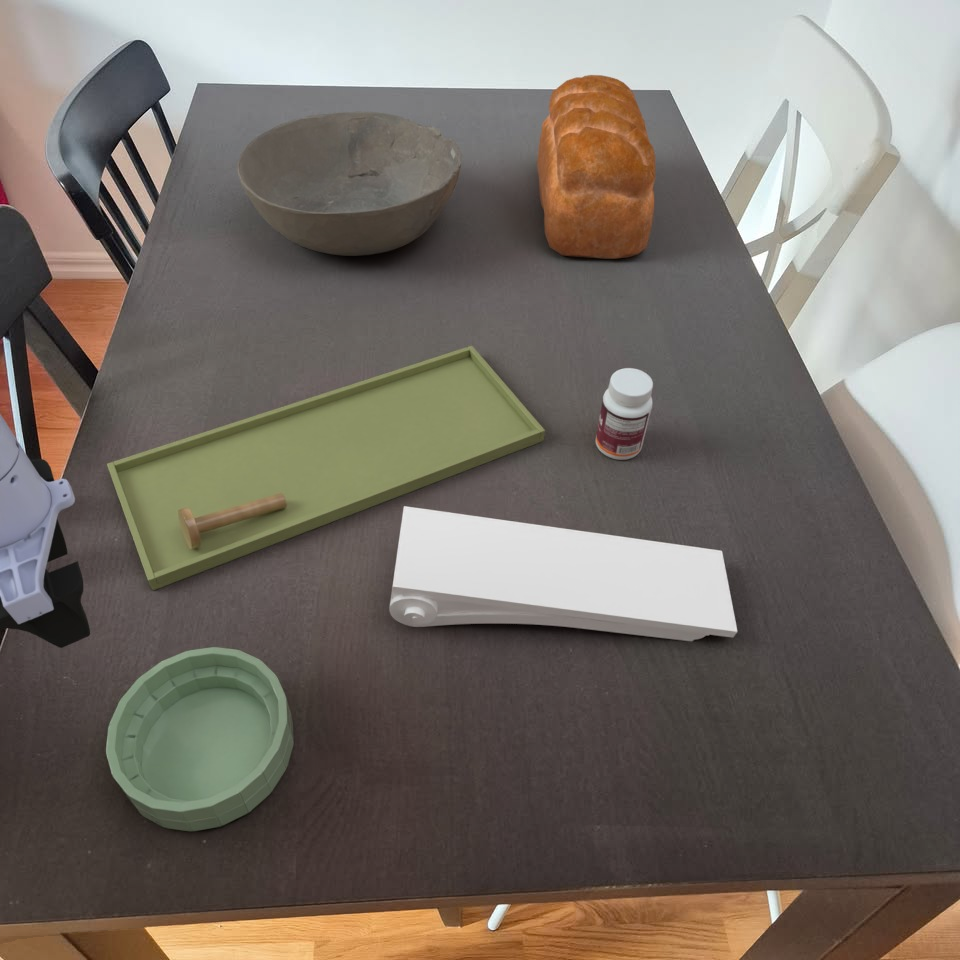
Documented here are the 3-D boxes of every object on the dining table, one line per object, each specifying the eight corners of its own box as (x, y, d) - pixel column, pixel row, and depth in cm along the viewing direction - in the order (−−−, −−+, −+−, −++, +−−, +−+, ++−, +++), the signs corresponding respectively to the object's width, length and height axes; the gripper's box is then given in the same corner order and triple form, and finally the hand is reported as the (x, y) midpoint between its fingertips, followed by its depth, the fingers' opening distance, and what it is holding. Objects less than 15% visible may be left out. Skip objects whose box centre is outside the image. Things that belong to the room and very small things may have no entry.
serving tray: (152, 591, 70) (147, 580, 69) (111, 474, 79) (106, 463, 78) (544, 440, 84) (545, 430, 83) (471, 355, 93) (472, 345, 92)
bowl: (491, 260, 106) (495, 187, 99) (276, 303, 98) (263, 227, 91) (419, 162, 123) (417, 93, 116) (231, 192, 115) (216, 121, 108)
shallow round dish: (147, 866, 56) (130, 845, 53) (105, 716, 63) (89, 690, 60) (319, 781, 60) (312, 757, 57) (262, 650, 67) (253, 622, 64)
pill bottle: (604, 422, 86) (616, 359, 80) (648, 437, 85) (664, 374, 79) (587, 451, 83) (598, 387, 77) (632, 467, 82) (647, 404, 76)
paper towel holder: (190, 534, 70) (292, 504, 74) (176, 501, 71) (277, 473, 76) (192, 557, 73) (290, 526, 77) (178, 524, 74) (275, 496, 78)
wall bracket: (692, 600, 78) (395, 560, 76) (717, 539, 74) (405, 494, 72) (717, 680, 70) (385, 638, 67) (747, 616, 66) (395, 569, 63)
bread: (543, 261, 106) (556, 143, 95) (533, 162, 124) (542, 52, 113) (652, 264, 107) (677, 146, 95) (626, 164, 125) (644, 56, 113)
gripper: (63, 521, 44) (147, 650, 54) (19, 366, 53) (98, 503, 63) (-80, 577, 42) (35, 700, 52) (-102, 405, 51) (0, 540, 61)
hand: (62, 595), depth 57 cm, fingers open, 7 cm apart
